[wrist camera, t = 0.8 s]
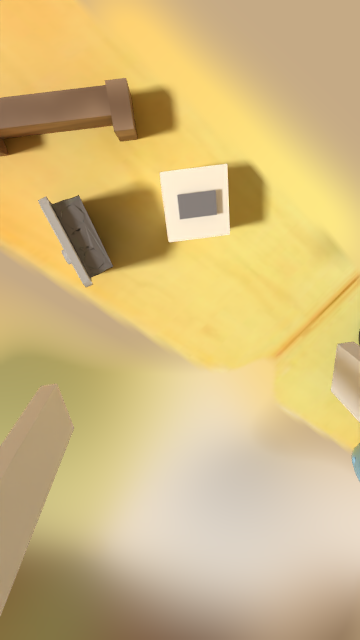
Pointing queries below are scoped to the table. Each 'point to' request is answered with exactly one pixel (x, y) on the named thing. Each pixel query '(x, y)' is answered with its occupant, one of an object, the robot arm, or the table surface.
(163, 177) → the socket block
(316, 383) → the table surface
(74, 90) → the bracket
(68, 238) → the electrical switch
